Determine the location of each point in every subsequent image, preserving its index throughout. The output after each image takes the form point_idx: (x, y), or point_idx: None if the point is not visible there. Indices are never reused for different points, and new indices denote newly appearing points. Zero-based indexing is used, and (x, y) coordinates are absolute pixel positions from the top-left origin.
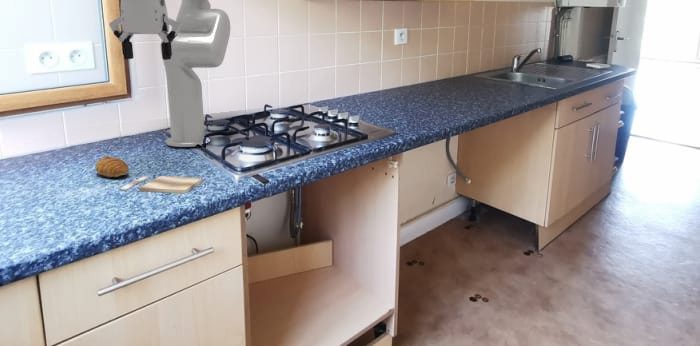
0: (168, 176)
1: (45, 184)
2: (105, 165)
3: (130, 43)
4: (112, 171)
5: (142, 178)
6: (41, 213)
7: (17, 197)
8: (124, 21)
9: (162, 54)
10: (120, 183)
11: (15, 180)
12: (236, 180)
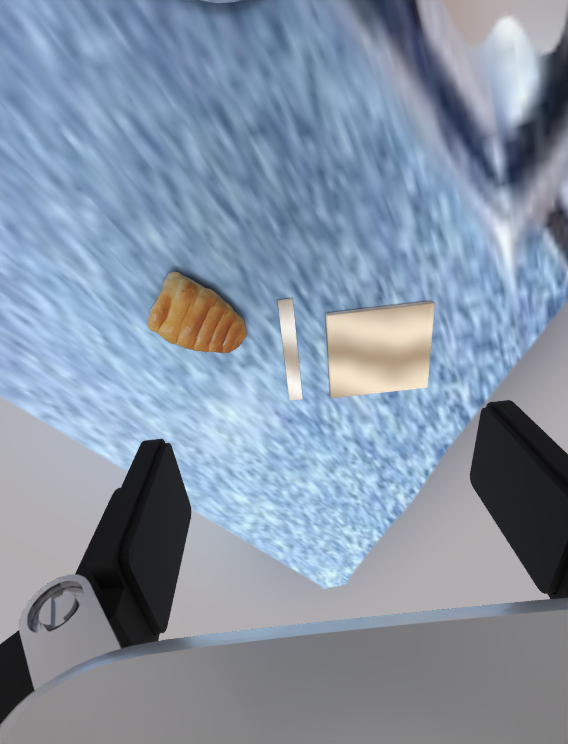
0: (348, 313)
1: (119, 404)
2: (193, 345)
3: (141, 572)
4: (224, 352)
5: (288, 327)
6: (253, 506)
7: None
8: None
9: (490, 508)
10: (259, 361)
11: (32, 399)
12: (509, 272)
